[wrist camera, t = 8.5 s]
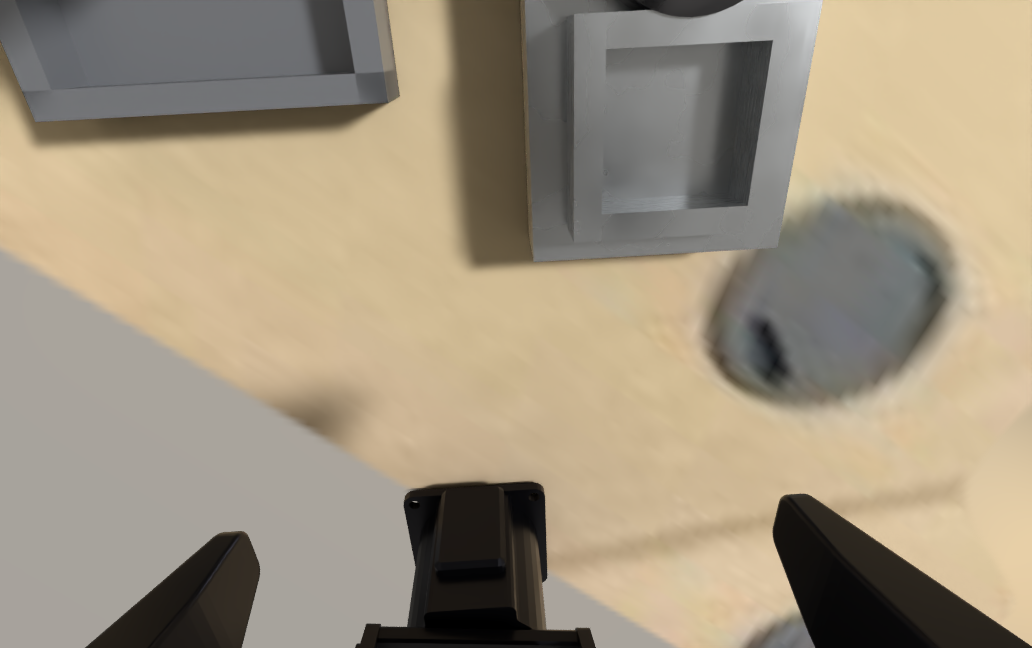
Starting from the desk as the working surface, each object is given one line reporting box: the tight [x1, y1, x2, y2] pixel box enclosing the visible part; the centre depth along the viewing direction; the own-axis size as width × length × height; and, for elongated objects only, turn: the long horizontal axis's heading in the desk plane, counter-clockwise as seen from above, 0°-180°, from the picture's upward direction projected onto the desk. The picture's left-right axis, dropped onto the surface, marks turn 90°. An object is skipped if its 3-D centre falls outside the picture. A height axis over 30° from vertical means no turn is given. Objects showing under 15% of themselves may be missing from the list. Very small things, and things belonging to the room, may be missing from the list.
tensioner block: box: [520, 0, 823, 262], centre depth 15 cm, size 12×8×5 cm, turn 3°
